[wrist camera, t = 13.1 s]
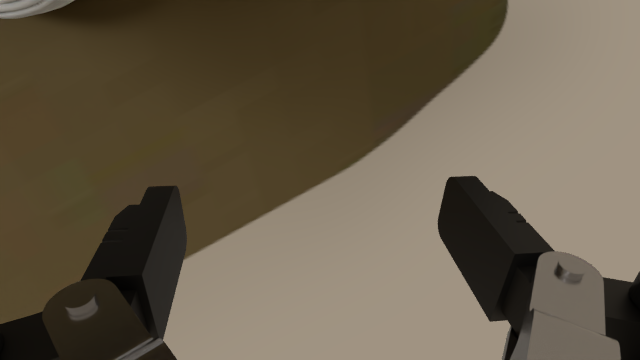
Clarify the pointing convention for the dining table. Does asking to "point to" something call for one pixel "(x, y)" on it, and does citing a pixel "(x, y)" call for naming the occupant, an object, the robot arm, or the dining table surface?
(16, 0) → the cable
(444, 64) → the dining table surface
